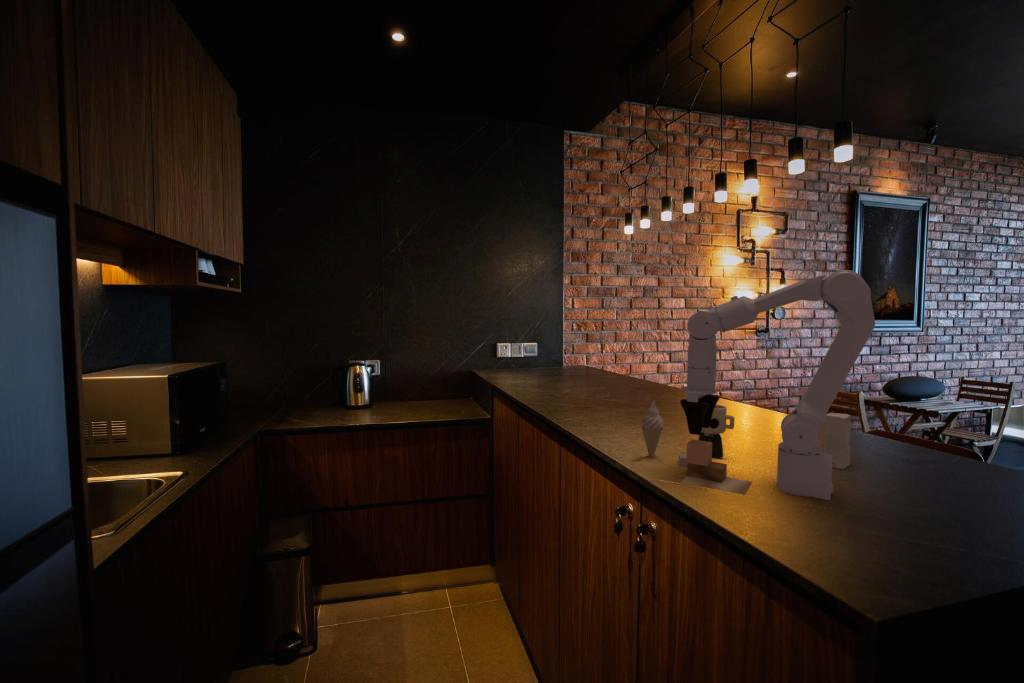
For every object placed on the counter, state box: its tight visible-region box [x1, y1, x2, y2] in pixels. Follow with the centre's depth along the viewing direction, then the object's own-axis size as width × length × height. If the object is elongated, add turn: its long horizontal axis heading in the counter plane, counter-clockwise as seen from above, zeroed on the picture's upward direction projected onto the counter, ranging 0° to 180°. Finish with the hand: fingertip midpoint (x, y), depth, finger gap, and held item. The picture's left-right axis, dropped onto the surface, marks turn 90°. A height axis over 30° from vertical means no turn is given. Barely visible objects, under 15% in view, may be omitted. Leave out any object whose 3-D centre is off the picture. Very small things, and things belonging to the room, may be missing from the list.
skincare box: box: [823, 412, 852, 470], centre depth 115 cm, size 6×4×12 cm
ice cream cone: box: [641, 399, 664, 458], centre depth 117 cm, size 5×5×15 cm
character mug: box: [697, 404, 735, 460], centre depth 120 cm, size 11×7×13 cm, turn 52°
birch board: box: [680, 475, 753, 496], centre depth 99 cm, size 12×9×1 cm
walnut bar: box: [686, 461, 728, 483], centre depth 102 cm, size 7×4×3 cm, turn 55°
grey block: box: [678, 453, 687, 468], centre depth 111 cm, size 4×4×3 cm
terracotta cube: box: [686, 439, 713, 466], centre depth 103 cm, size 4×4×4 cm
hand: (699, 430), depth 104 cm, fingers open, 7 cm apart
